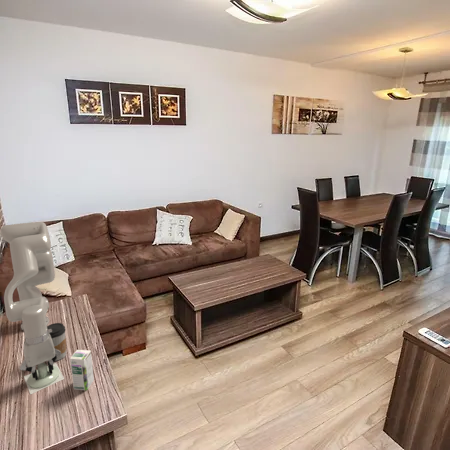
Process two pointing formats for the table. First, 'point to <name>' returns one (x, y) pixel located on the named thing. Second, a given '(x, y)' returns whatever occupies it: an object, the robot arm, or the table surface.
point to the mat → (33, 390)
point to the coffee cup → (58, 338)
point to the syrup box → (82, 369)
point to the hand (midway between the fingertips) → (43, 374)
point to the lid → (43, 376)
